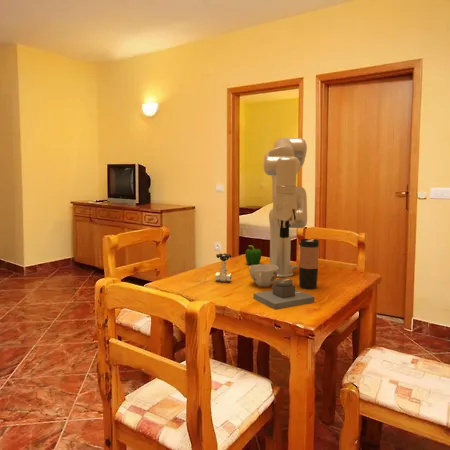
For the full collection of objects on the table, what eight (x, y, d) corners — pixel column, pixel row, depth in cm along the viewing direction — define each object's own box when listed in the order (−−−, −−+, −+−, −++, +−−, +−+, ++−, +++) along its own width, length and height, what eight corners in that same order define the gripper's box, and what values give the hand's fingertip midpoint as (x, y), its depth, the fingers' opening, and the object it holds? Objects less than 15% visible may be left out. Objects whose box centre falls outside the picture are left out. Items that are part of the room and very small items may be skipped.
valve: (229, 284, 176) (229, 256, 174) (214, 283, 177) (214, 255, 176) (232, 280, 182) (232, 253, 181) (217, 279, 184) (218, 253, 182)
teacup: (252, 280, 183) (252, 262, 182) (280, 282, 180) (280, 264, 178) (244, 289, 169) (244, 270, 168) (274, 292, 165) (274, 272, 164)
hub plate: (291, 292, 165) (291, 278, 164) (314, 302, 153) (315, 287, 152) (253, 298, 157) (253, 284, 156) (274, 309, 144) (275, 294, 144)
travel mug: (306, 290, 168) (308, 242, 165) (294, 285, 175) (296, 239, 172) (321, 288, 171) (323, 240, 169) (309, 283, 178) (311, 238, 176)
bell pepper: (264, 264, 215) (264, 245, 213) (255, 266, 208) (256, 247, 207) (251, 261, 220) (251, 243, 219) (242, 264, 213) (242, 245, 212)
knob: (281, 298, 150) (281, 283, 149) (271, 293, 156) (271, 279, 155) (296, 295, 153) (296, 281, 153) (285, 291, 159) (285, 276, 158)
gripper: (266, 188, 161) (265, 234, 164) (289, 192, 148) (288, 242, 151) (282, 188, 165) (280, 233, 168) (306, 191, 152) (304, 240, 155)
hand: (284, 237), depth 160 cm, fingers closed
